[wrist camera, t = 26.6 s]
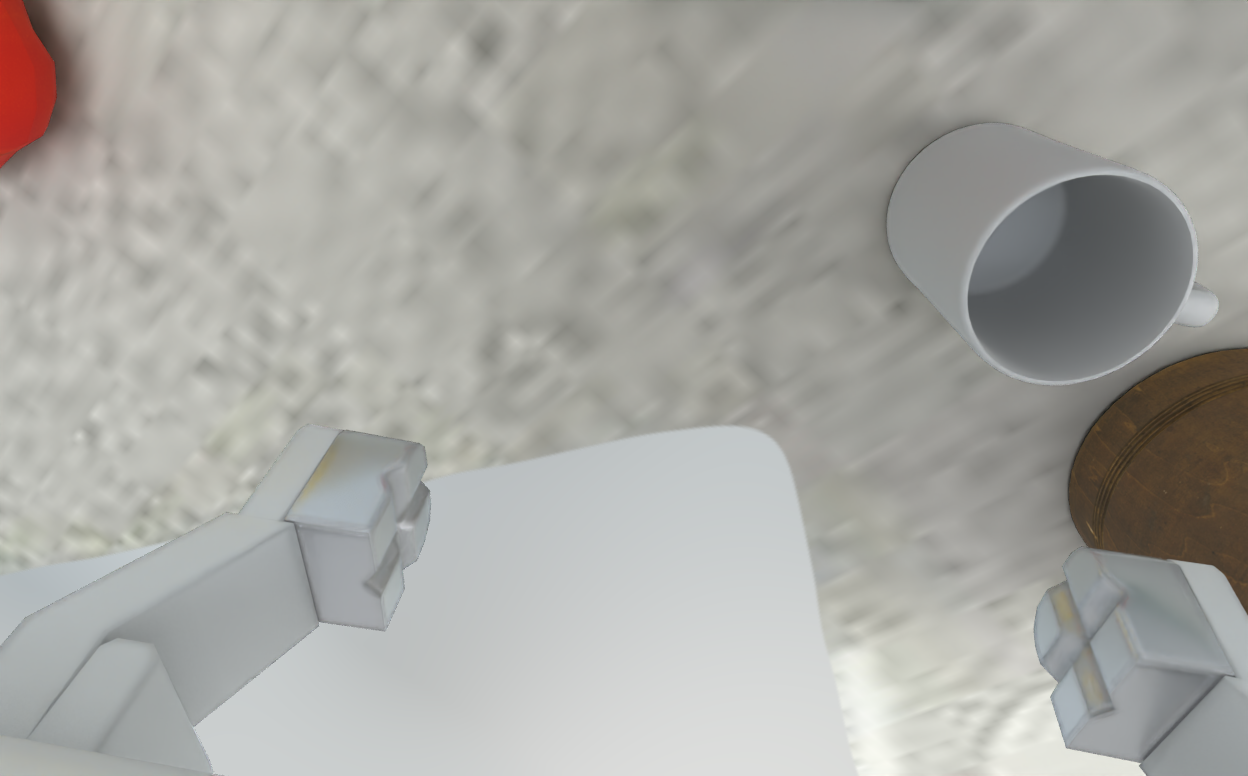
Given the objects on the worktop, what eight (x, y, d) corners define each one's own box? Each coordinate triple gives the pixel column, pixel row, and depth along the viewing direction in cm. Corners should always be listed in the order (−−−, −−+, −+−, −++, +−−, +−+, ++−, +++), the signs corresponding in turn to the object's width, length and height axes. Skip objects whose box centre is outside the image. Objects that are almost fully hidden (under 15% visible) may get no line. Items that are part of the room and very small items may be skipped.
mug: (856, 269, 41) (919, 355, 31) (930, 98, 37) (1026, 133, 27) (1075, 333, 42) (1203, 436, 32) (1166, 172, 38) (1343, 232, 28)
